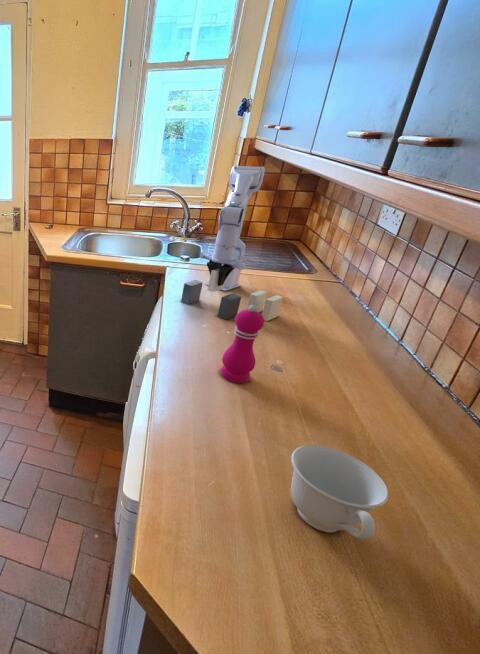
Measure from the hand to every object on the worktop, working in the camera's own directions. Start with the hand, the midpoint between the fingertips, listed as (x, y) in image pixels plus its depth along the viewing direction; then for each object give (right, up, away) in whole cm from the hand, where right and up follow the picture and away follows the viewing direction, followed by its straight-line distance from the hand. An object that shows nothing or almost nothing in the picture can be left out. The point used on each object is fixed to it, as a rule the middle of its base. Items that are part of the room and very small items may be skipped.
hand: (216, 283), depth 136 cm
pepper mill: (-13, -25, -32) cm, 43 cm away
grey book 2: (+2, -11, -2) cm, 11 cm away
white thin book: (0, -2, +1) cm, 2 cm away
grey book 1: (-5, -6, +9) cm, 12 cm away
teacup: (-20, -43, -70) cm, 84 cm away
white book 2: (+15, -11, -4) cm, 19 cm away
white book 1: (+13, -9, 0) cm, 16 cm away
